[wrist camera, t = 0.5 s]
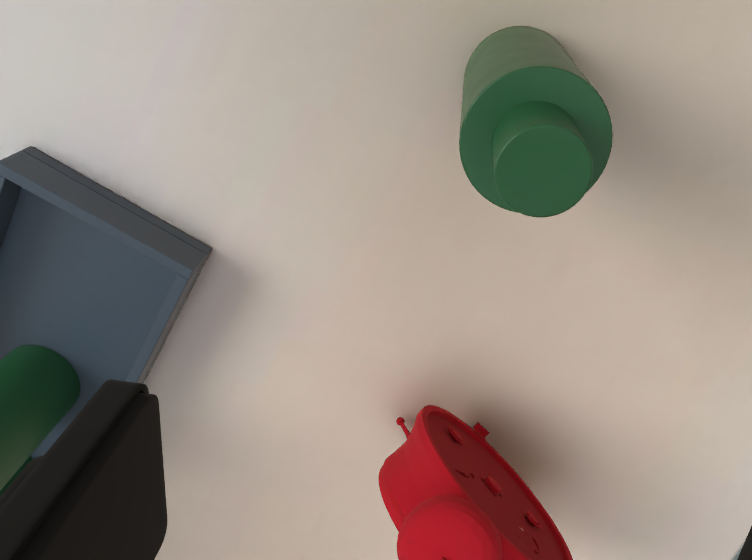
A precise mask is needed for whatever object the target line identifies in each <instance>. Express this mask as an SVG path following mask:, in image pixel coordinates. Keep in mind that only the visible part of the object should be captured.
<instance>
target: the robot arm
mask: <svg viewBox="0 0 752 560" xmlns="http://www.w3.org/2000/svg"><path fill="white" fill-rule="evenodd" d="M166 529H167V509H166V496H165V482H164V469H163V455H162V441H161V428H160V414H159V402H158V398H157V396H156V395H153V394H149V392H148V388H147V386H146V385H145V384H141V383H134V382H127V381H120V380H113V379H110V380H107V381H106V382H105V383H103V384H102V386H101V387H100V388H99V389H98V391H97V392H96V393H95V394H94V395H93V397H92V398H91V399H90V400H89V401H88V403H87V404H86V405H85V406H84V407H83V409H82V410H81V411H80V412H79V414H78V415H77V416H76V417H75V418H74V420H73V421H72V422H71V423H70V424H69V426H68V427H67V428H66V429H65V430H64V432H63V433H62V434H61V435H60V436H59V438H58V439H57V440H56V441H55V443H54V444H53V445H52V446H51V447H50V449H49V450H48V451H47V452H46V453H45V455H44V456H42V455H41V456H39V457H36V458H34V459H33V460H32V461H31V462H30V463H29V464H27V465H26V467H25V468H24V469H23V470H22V471H21V472H20V474H19V475H18V476H17V477H16V478H15V480H14V481H13V482H12V483H11V484H10V486H9V487H8V488H7V489H6V490H5V491H4V493H3V494H2V495H1V496H0V560H154V559H155V557H156V555H157V553H158V551H159V549H160V547H161V545H162V543H163V540H164V537H165V534H166ZM738 560H752V526H751V529H750V531H749V533H748V536H747V538H746V541H745V543H744V545H743V548H742V550H741V552H740V555H739V557H738Z"/></svg>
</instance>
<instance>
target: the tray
mask: <svg viewBox="0 0 752 560" xmlns="http://www.w3.org/2000/svg"><path fill="white" fill-rule="evenodd" d="M211 250H212V248H211V247H209V246H207V245H205V244H203V243H202V242H200V241H198V240H196V239H195V238H193V237H191V236H189V235H188V234H186V233H184V232H182V231H180V230H179V229H177V228H175V227H173V226H172V225H170V224H168V223H166V222H164V221H163V220H161V219H159V218H157V217H156V216H154V215H152V214H150V213H149V212H147V211H145V210H143V209H141V208H140V207H138V206H136V205H134V204H133V203H131V202H129V201H127V200H125V199H124V198H122V197H120V196H118V195H117V194H115V193H113V192H111V191H109V190H108V189H106V188H104V187H102V186H101V185H99V184H97V183H95V182H94V181H92V180H90V179H88V178H86V177H85V176H83V175H81V174H79V173H78V172H76V171H74V170H72V169H70V168H69V167H67V166H65V165H63V164H62V163H60V162H58V161H56V160H55V159H53V158H51V157H49V156H47V155H46V154H44V153H42V152H40V151H39V150H37V149H35V148H33V147H31V146H30V147H27V148H25V149H23V150H22V151H19V152H17V153H15V154H13V155H11V156H9V157H7V158H4V159H2V160H0V361H1V360H2V359H3V358H4V357H5V356H6V355H7V354H8V353H10V352H11V351H12V350H13V349H15V348H17V347H20V346H24V345H37V346H42V347H46V348H48V349H51V350H53V351H55V352H56V353H58V354H59V355H61V356H62V357H63V358H65V359H66V360H67V361H68V362H69V363H70V364H71V366H72V367H73V368H74V370H75V372H76V374H77V376H78V379H79V382H80V394H79V397H78V400H77V401H76V403H75V404H74V405H73V406H72V408H71V409H70V410H69V411H68V412H67V413H66V415H65V416H64V417H63V418H62V419H61V420H60V422H59V423H58V424H57V425H56V426H55V427H54V429H53V430H52V431H51V432H50V433H49V434H48V436H47V437H46V438H45V439H44V440H43V442H42V443H41V444H40V445H39V446H38V447H37V449H36V450H35V451H34V452H33V453H32V454H31V457H32V459H34V458H36V457H39V456H41V455H42V456H44V455H45V453H46V452H47V451H48V450H49V449H50V447H51V446H52V445H53V444H54V443H55V441H56V440H57V439H58V438H59V436H60V435H61V434H62V433H63V432H64V430H65V429H66V428H67V427H68V426H69V424H70V423H71V422H72V421H73V420H74V418H75V417H76V416H77V415H78V414H79V412H80V411H81V410H82V409H83V407H84V406H85V405H86V404H87V403H88V401H89V400H90V399H91V398H92V397H93V395H94V394H95V393H96V392H97V391H98V389H99V388H100V387H101V386H102V384H103V383H105V382H106V381H107V380H110V379H113V380H120V381H127V382H134V383H141V384H143V383H144V381H145V379H146V377H147V375H148V373H149V371H150V369H151V367H152V365H153V363H154V362H155V360H156V358H157V356H158V354H159V352H160V350H161V348H162V346H163V344H164V342H165V340H166V338H167V336H168V334H169V332H170V330H171V328H172V326H173V324H174V322H175V320H176V318H177V316H178V314H179V313H180V311H181V309H182V307H183V305H184V303H185V301H186V299H187V297H188V295H189V293H190V291H191V289H192V287H193V285H194V283H195V281H196V279H197V277H198V275H199V273H200V271H201V269H202V267H203V265H204V264H205V262H206V260H207V258H208V256H209V254H210V252H211Z"/></svg>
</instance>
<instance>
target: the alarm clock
mask: <svg viewBox="0 0 752 560" xmlns="http://www.w3.org/2000/svg"><path fill="white" fill-rule="evenodd" d="M396 422H397V424H398V425H401V427H402V429H403V431H404V432H405V434H406V437H407V441H406V442H405V443H404V444H403V445H402V446H401V447H400V448H399V449H398V450H396V451H395V452H394V453H393V454H392V455H390V456H389V457H388V458H387V459H386V460H385V462H384V465H383V466H382V468H381V470H380V472H379V486H380V491H381V495H382V498H383V501H384V503H385V506H386V508H387V510H388V512H389V515H390V517H391V519H392V521H393V522H394V524H395V526H396V528H397V530H398V531H399V534H398V540H397V552H398V559H399V560H573V558H572V556H571V553H570V551H569V549H568V547H567V545H566V543H565V541H564V539H563V537H562V535H561V534H560V532H559V530H558V529H557V527H556V525H555V524H554V522H553V520H552V519H551V517H550V516H549V514H548V513H547V512H546V510H545V509H544V508H543V506H542V505H541V503H540V502H539V501H538V499H537V498H536V497H535V495H534V494H533V493H532V491H531V490H530V489H529V488H528V486H527V485H526V484H525V483H524V481H523V480H522V479H521V478H520V477H519V475H518V474H517V473H516V472H515V471H514V470H513V469H512V468H511V466H510V465H509V464H508V463H507V462H506V461H505V460H504V459H503V458H502V457H501V456H500V455H499V454H498V453H497V452H496V451H495V449H494V448H492V447H491V446H490V445H489V444H488V443H487V442H486V439H485V437H486V436H487V435H488V434H489V432H488V431H487V430H486V429H485V428H484V427H483V426H481V425H480V424H479V423H477V424H476V425H475V426H474V427H473V428H474V430H473V429H472V428H471V427H469V426H468V425H467V424H466V423H464V422H463V421H461V420H460V419H459V418H457V417H456V416H454V415H453V414H451V413H450V412H448V411H446V410H444V409H442V408H439V407H437V406H433V405H428V406H425V407H424V408H423V409H422V410H421V411H420V412H419V413H418V414H417V417H416V421H415V424H414V426H413V429H412V431H411V433H409V431H408V429H407V428H406V426H405V425H404V419H403V418H401V417H399V418H398V419H397V421H396Z"/></svg>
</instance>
